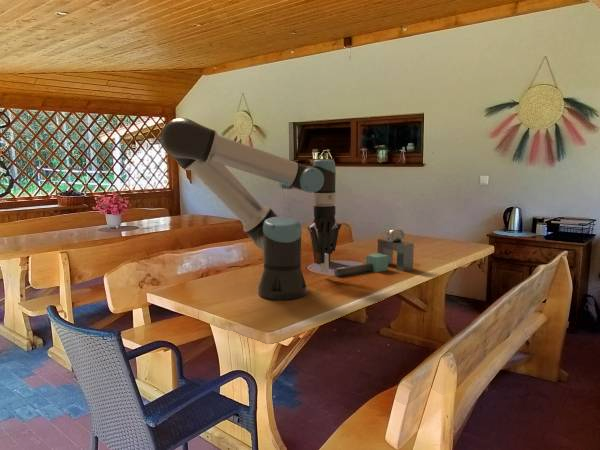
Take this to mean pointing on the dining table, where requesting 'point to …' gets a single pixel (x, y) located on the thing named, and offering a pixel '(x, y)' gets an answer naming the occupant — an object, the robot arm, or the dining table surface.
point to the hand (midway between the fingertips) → (324, 271)
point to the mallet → (366, 265)
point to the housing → (397, 249)
